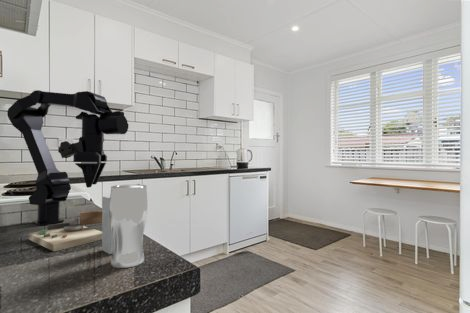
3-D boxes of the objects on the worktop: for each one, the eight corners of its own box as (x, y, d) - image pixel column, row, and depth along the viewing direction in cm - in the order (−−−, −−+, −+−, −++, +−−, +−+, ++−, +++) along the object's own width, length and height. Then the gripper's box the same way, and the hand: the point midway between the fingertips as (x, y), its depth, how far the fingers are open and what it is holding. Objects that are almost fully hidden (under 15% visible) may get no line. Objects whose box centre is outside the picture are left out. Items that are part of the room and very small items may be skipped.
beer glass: (133, 271, 47) (134, 188, 47) (100, 267, 49) (101, 187, 49) (153, 257, 54) (154, 185, 54) (123, 254, 55) (124, 184, 56)
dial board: (28, 239, 65) (28, 231, 65) (77, 229, 74) (77, 222, 74) (53, 251, 56) (54, 242, 56) (105, 238, 66) (105, 230, 66)
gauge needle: (47, 233, 63) (47, 217, 63) (47, 229, 67) (47, 213, 67) (104, 226, 70) (104, 211, 70) (102, 223, 74) (102, 209, 74)
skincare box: (127, 244, 62) (127, 193, 62) (136, 248, 59) (137, 195, 59) (100, 250, 57) (101, 195, 58) (109, 255, 55) (110, 198, 55)
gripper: (69, 135, 85) (69, 183, 85) (51, 130, 67) (50, 190, 67) (107, 137, 89) (106, 182, 89) (99, 132, 71) (98, 188, 71)
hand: (91, 185), depth 79 cm, fingers open, 9 cm apart
